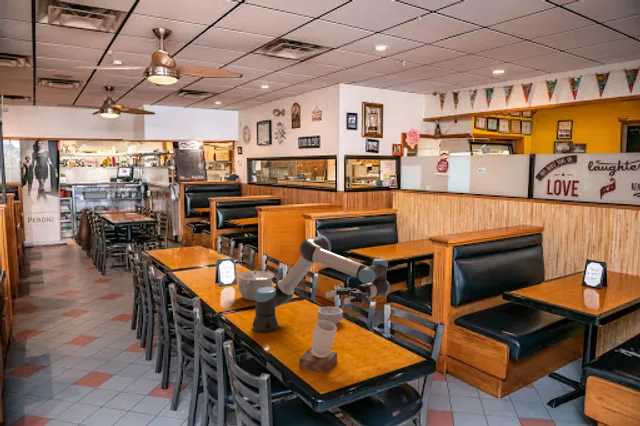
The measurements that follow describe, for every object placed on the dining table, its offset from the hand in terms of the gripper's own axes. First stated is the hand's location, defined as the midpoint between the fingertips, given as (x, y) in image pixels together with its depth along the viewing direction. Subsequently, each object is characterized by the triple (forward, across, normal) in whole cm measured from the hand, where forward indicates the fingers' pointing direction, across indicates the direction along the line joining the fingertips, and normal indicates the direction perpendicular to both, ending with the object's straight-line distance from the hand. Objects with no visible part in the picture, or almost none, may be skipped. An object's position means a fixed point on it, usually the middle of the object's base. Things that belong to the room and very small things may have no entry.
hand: (335, 298), depth 221 cm
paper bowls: (-33, +41, -32) cm, 61 cm away
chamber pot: (-24, +112, -32) cm, 119 cm away
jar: (+9, 0, -26) cm, 27 cm away
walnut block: (+10, 0, -32) cm, 33 cm away
